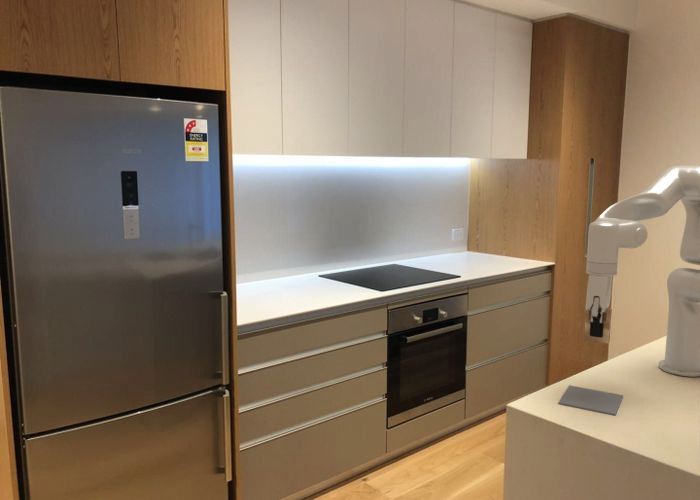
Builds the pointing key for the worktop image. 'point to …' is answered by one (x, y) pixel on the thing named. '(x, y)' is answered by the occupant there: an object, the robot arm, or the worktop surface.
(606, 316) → the oak slab
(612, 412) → the rubber mat
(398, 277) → the worktop surface
